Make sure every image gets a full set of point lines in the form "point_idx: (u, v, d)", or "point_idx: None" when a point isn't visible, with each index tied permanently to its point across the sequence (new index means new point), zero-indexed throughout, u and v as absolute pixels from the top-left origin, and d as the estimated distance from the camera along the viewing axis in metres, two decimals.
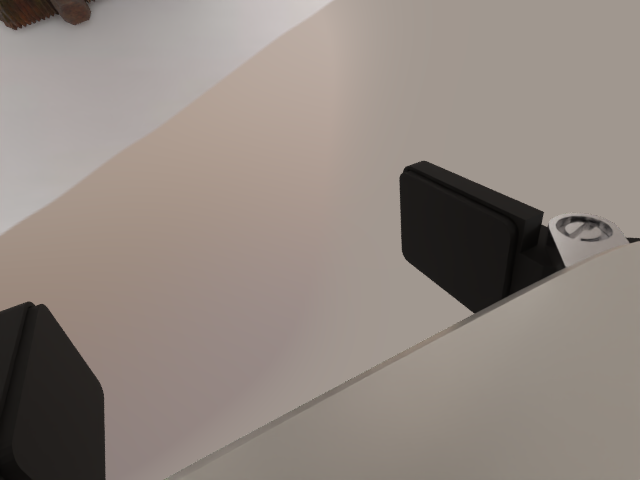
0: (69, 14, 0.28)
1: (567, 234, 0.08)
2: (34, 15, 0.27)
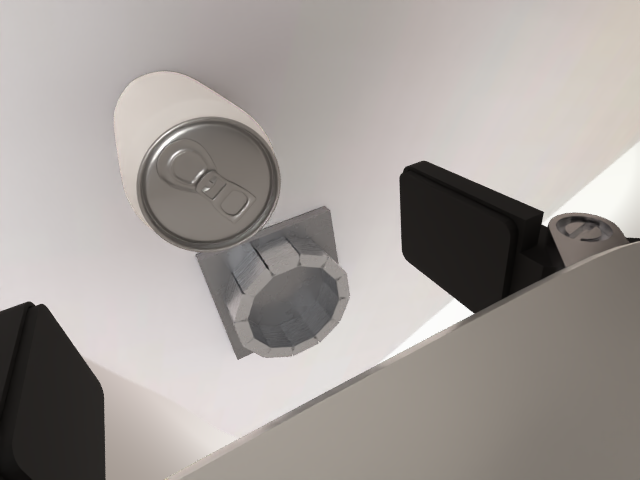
0: None
1: (567, 234, 0.08)
2: None
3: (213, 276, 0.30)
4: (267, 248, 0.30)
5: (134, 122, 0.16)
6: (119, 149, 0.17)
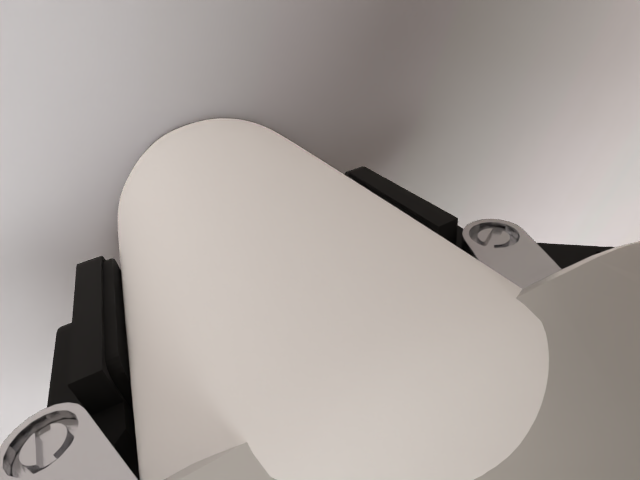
0: None
1: (481, 242, 0.08)
2: None
3: None
4: None
5: (205, 398, 0.04)
6: (141, 433, 0.05)
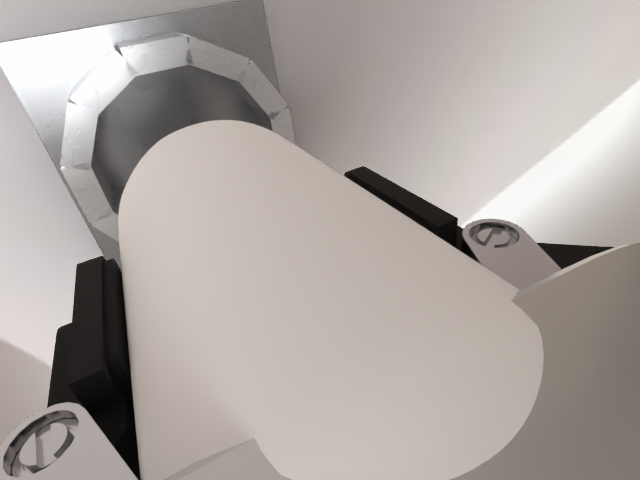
0: None
1: (481, 242, 0.08)
2: None
3: (32, 89, 0.16)
4: (136, 40, 0.16)
5: (206, 403, 0.04)
6: (142, 436, 0.05)
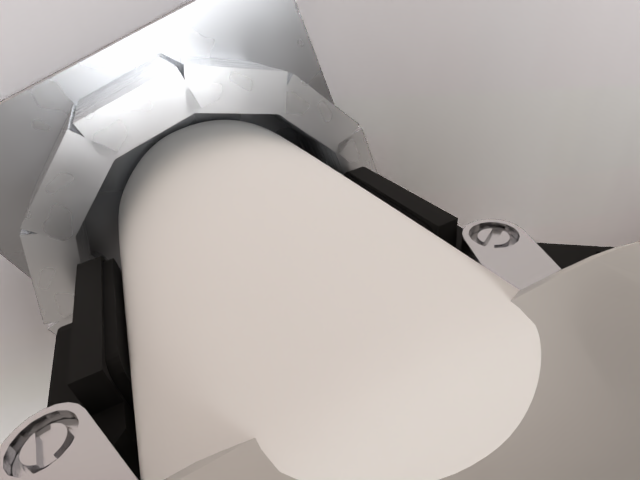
0: None
1: (481, 242, 0.08)
2: None
3: (236, 9, 0.11)
4: None
5: (206, 401, 0.04)
6: (142, 435, 0.05)
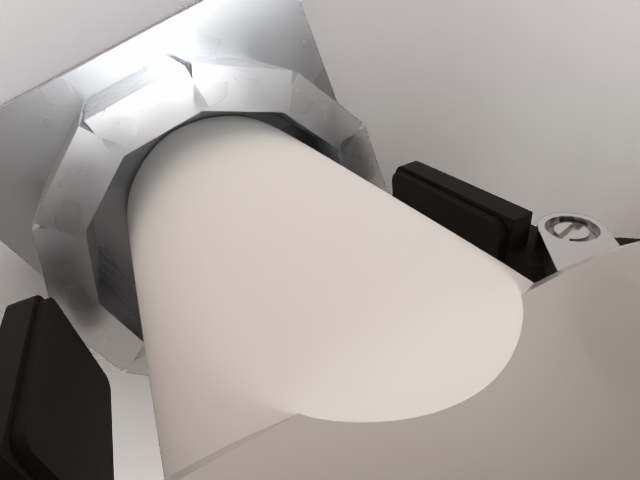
0: None
1: (556, 234, 0.08)
2: None
3: (242, 9, 0.11)
4: None
5: (224, 359, 0.05)
6: (161, 398, 0.06)
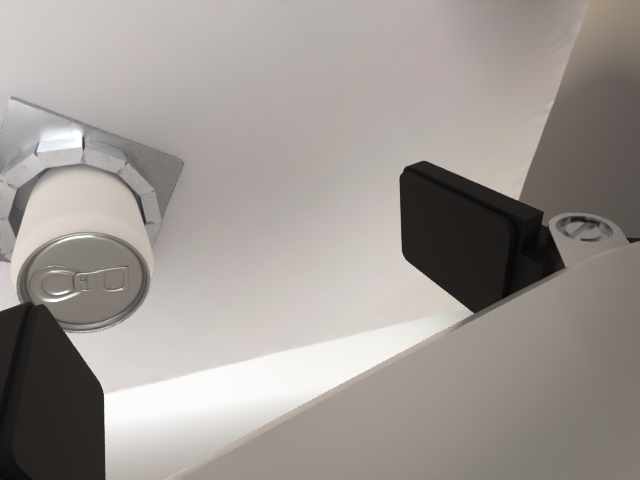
0: None
1: (567, 234, 0.08)
2: None
3: (14, 129, 0.25)
4: (97, 143, 0.27)
5: None
6: None
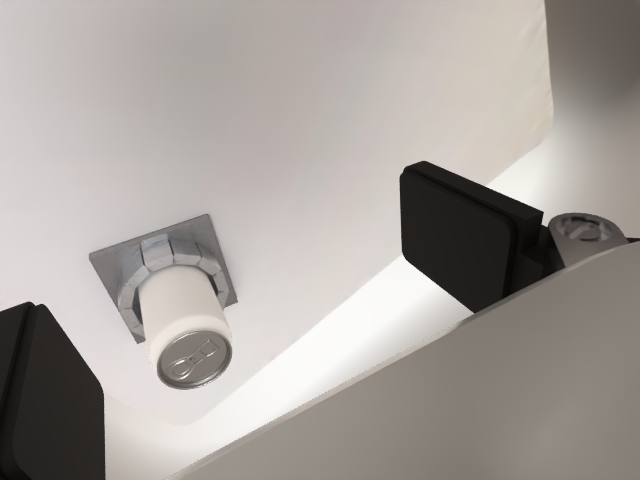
0: None
1: (567, 234, 0.08)
2: None
3: (104, 271, 0.36)
4: (150, 249, 0.36)
5: None
6: None
